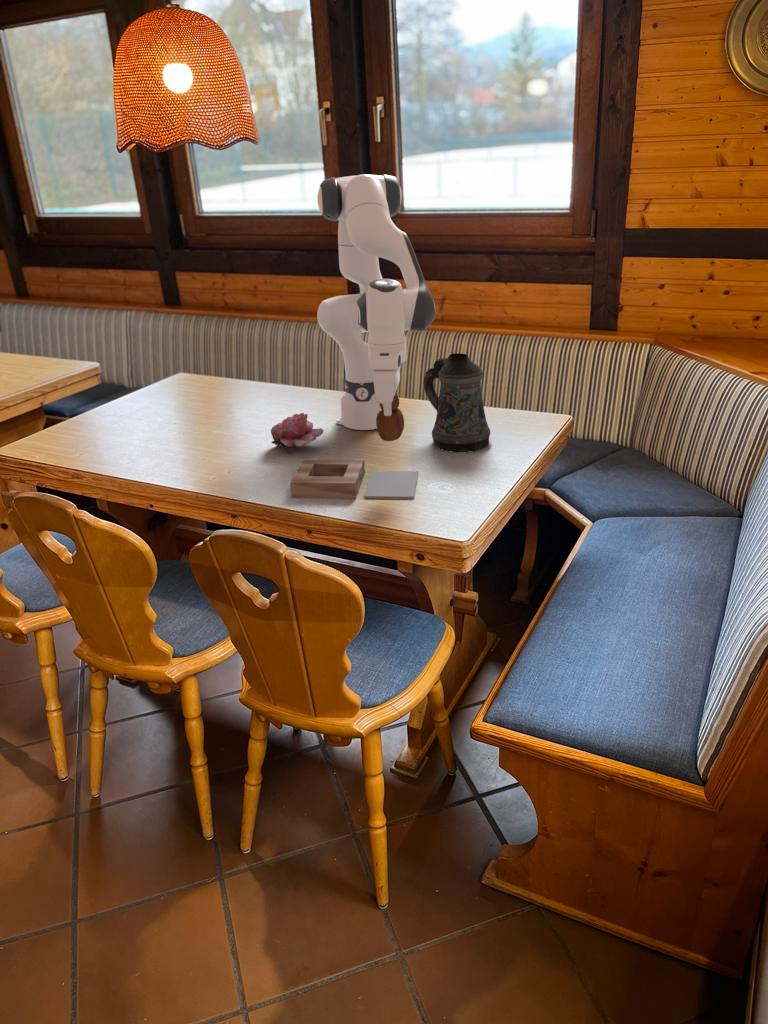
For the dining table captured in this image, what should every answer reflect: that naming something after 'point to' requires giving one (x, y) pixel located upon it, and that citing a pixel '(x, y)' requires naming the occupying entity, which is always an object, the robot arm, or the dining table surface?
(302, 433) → the flower
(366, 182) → the robot arm
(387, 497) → the slate mat
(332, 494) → the walnut socket block
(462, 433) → the beer stein
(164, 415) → the dining table surface
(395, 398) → the wooden figurine
